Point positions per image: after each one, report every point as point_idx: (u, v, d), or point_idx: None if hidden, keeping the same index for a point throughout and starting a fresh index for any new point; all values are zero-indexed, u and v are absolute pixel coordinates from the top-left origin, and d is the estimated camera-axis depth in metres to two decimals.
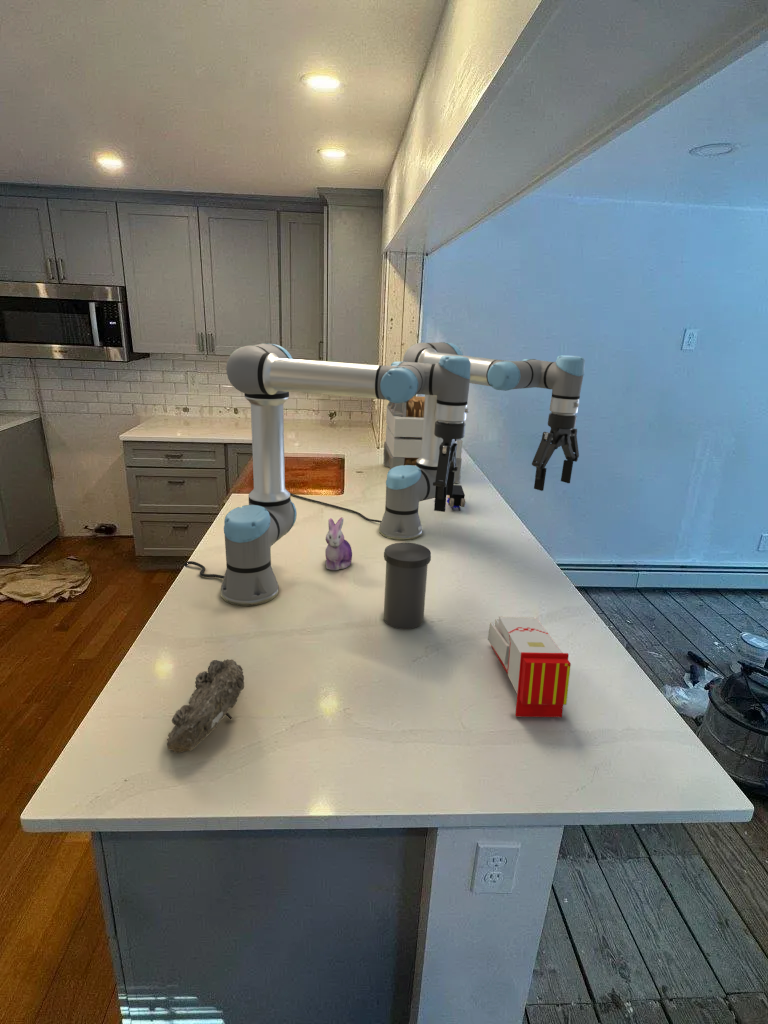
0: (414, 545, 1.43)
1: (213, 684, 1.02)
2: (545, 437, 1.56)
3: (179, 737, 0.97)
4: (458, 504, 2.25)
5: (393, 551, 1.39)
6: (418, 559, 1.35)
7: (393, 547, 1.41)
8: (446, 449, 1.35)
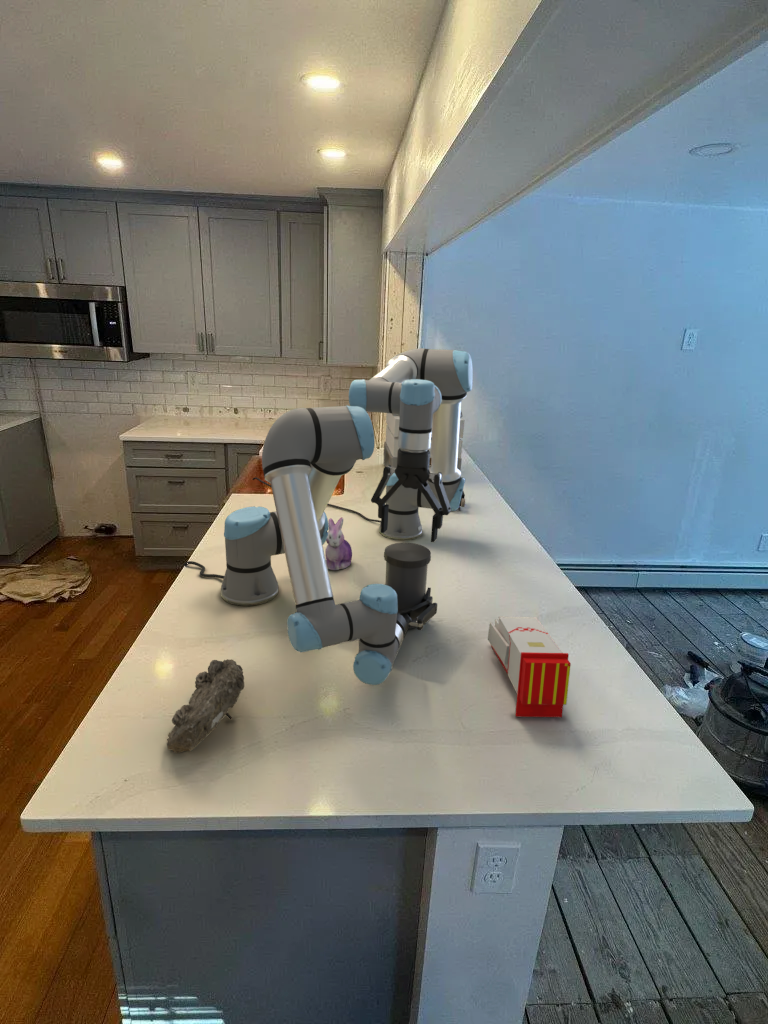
0: (414, 545, 1.43)
1: (213, 684, 1.02)
2: (440, 479, 1.30)
3: (179, 737, 0.97)
4: None
5: (393, 551, 1.39)
6: (418, 559, 1.35)
7: (393, 547, 1.41)
8: None
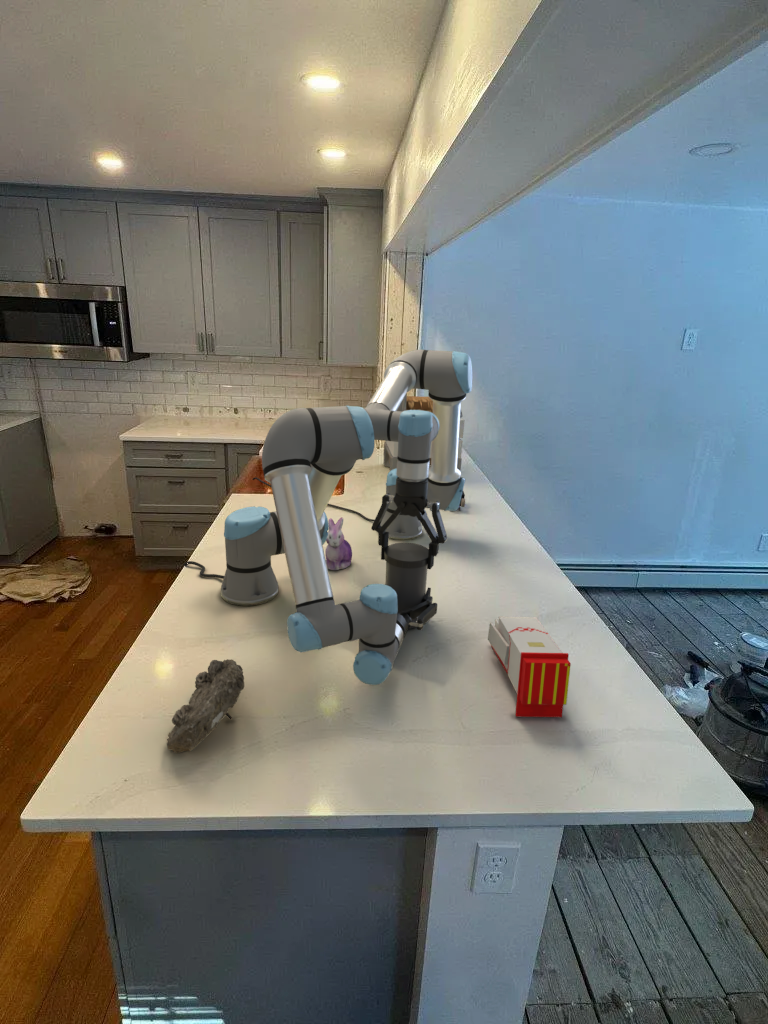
0: (414, 545, 1.43)
1: (213, 684, 1.02)
2: (438, 508, 1.33)
3: (179, 737, 0.97)
4: None
5: (393, 551, 1.39)
6: (418, 559, 1.35)
7: (393, 547, 1.41)
8: None
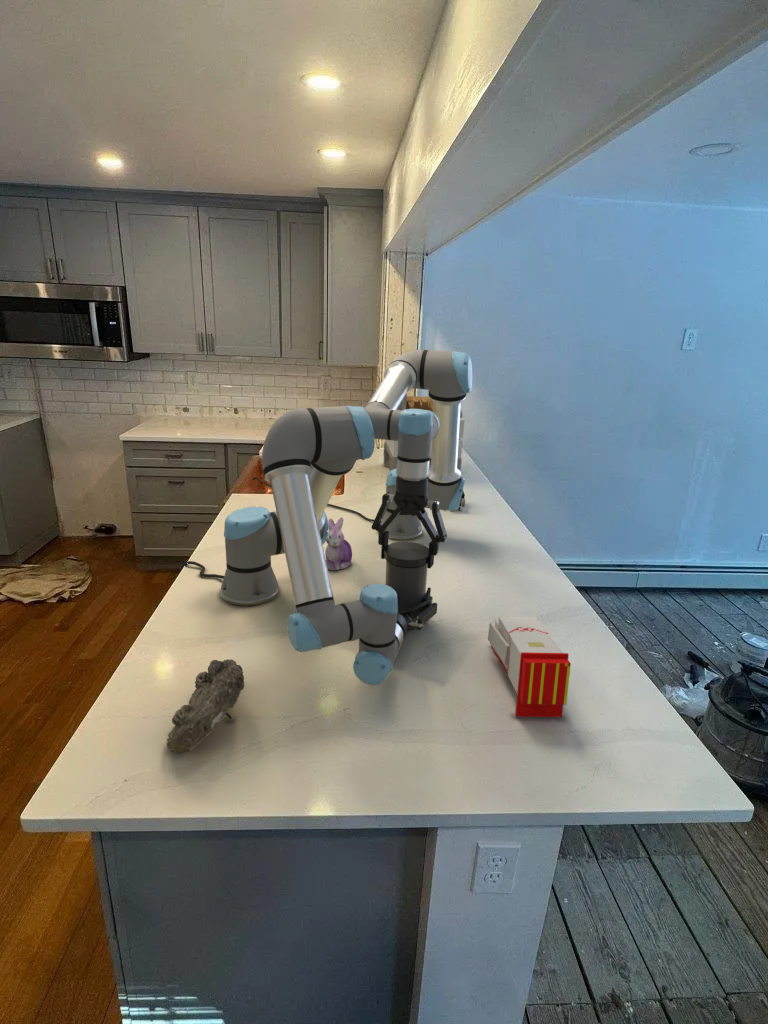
0: (390, 547, 1.40)
1: (213, 684, 1.02)
2: (438, 507, 1.33)
3: (179, 737, 0.97)
4: None
5: (411, 556, 1.36)
6: (423, 546, 1.42)
7: (400, 556, 1.35)
8: None
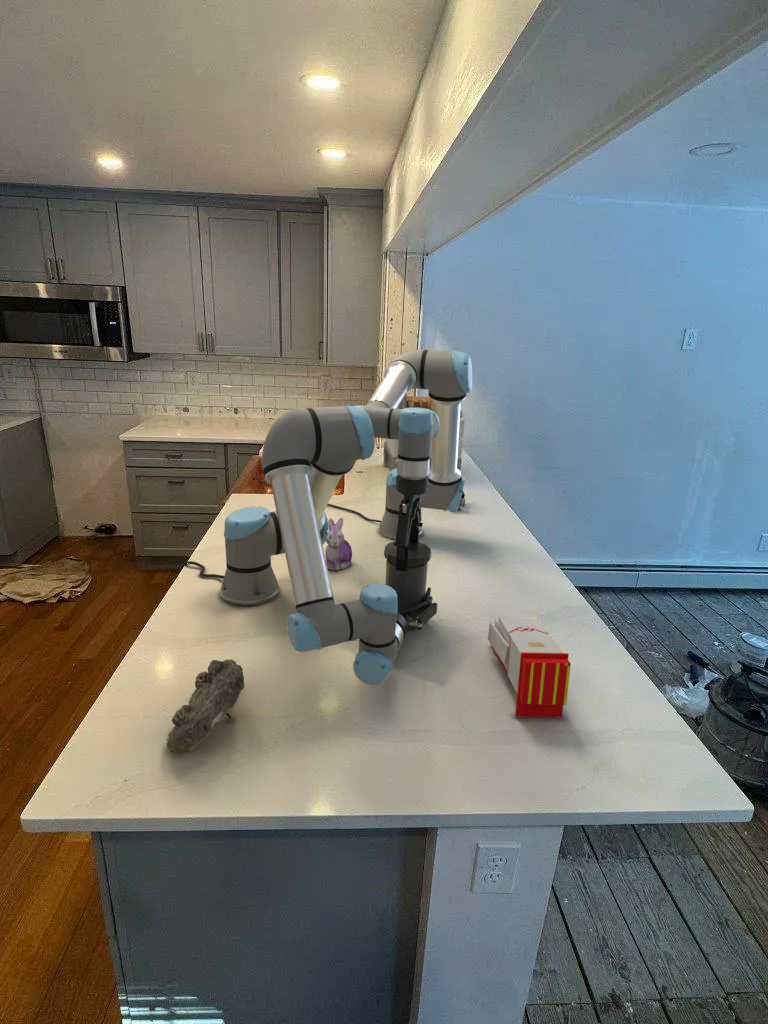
0: None
1: (213, 684, 1.02)
2: None
3: (179, 737, 0.97)
4: None
5: (421, 547, 1.40)
6: (393, 542, 1.42)
7: (424, 552, 1.38)
8: None
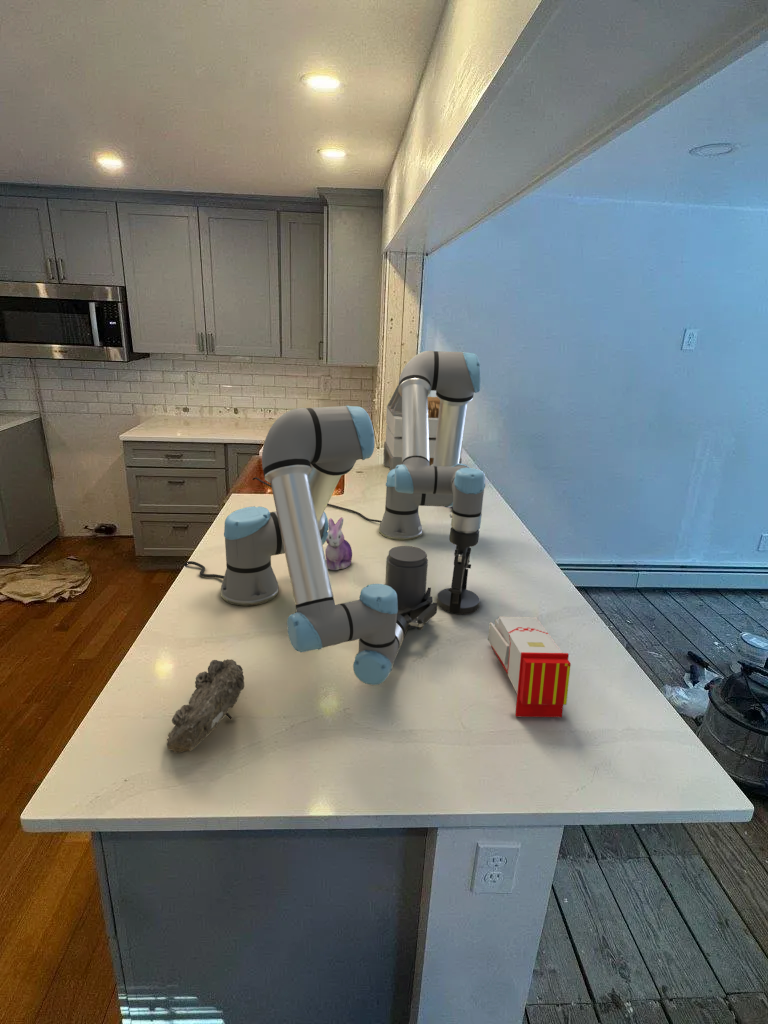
0: None
1: (213, 684, 1.02)
2: None
3: (179, 737, 0.97)
4: None
5: (470, 595, 1.55)
6: (444, 590, 1.57)
7: (473, 600, 1.52)
8: None
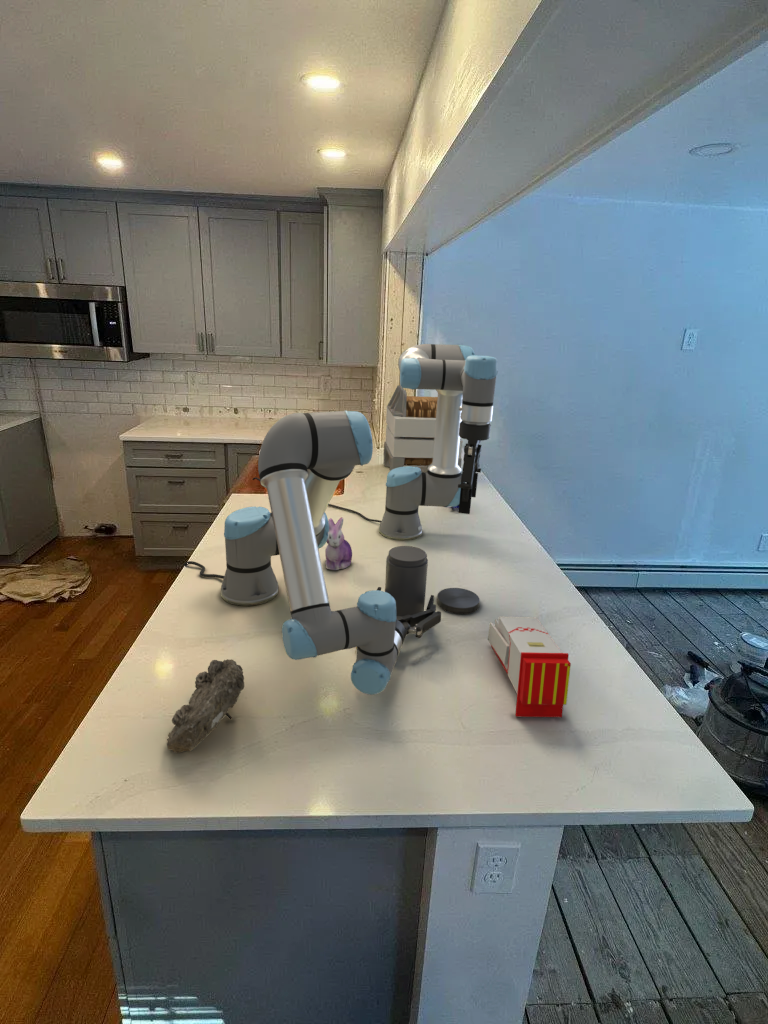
0: (457, 605, 1.49)
1: (213, 684, 1.02)
2: None
3: (179, 737, 0.97)
4: None
5: (470, 595, 1.55)
6: (444, 590, 1.57)
7: (473, 600, 1.52)
8: None
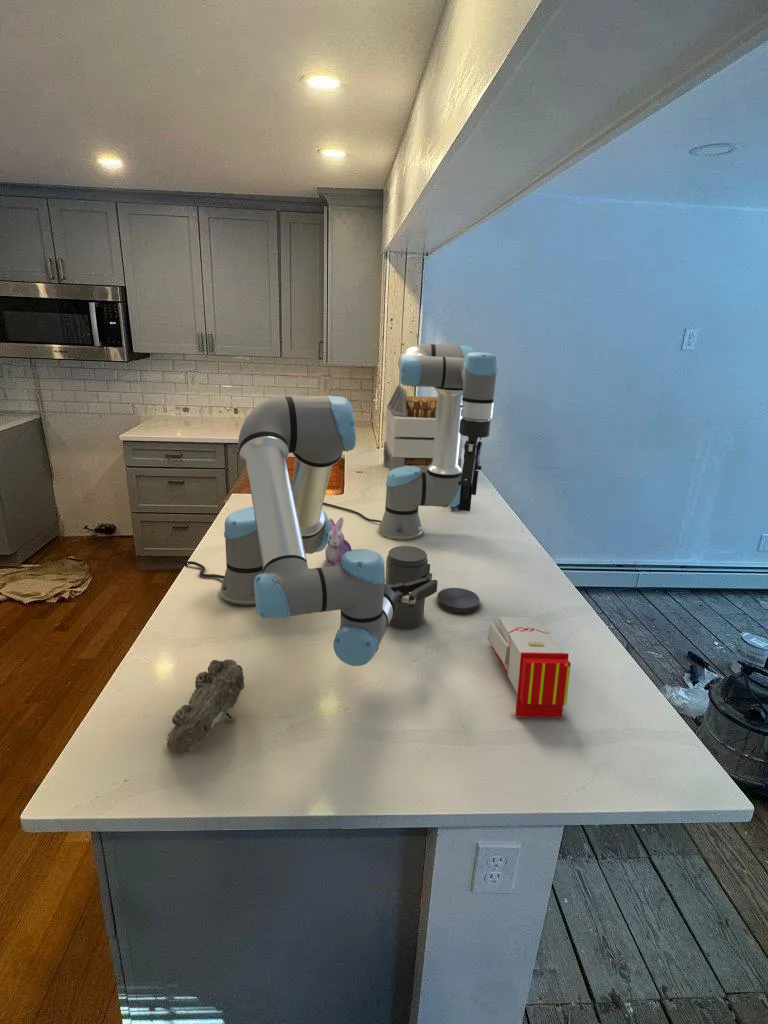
0: (457, 605, 1.49)
1: (213, 684, 1.02)
2: None
3: (179, 737, 0.97)
4: None
5: (470, 595, 1.55)
6: (444, 590, 1.57)
7: (473, 600, 1.52)
8: None
